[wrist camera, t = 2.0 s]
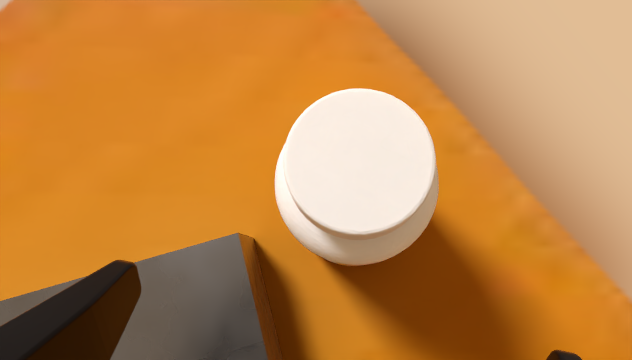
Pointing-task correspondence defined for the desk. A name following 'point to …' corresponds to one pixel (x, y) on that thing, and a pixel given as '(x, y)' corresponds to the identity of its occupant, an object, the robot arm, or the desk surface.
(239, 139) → the desk surface
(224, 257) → the socket block
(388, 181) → the supplement bottle
